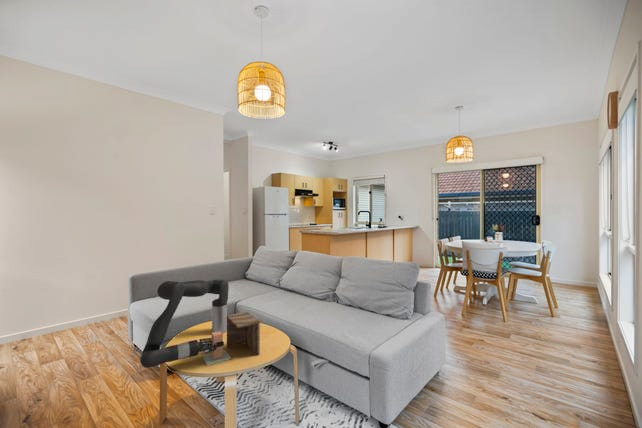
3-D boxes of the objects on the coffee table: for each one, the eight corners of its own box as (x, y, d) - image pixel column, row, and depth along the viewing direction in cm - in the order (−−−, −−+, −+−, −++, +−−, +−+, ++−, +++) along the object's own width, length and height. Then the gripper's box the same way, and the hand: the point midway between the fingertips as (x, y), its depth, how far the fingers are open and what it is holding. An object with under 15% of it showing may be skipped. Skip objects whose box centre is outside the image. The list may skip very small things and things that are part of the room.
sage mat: (202, 356, 154) (202, 355, 154) (225, 350, 161) (225, 349, 161) (207, 365, 145) (207, 364, 145) (231, 358, 152) (231, 357, 152)
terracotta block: (211, 355, 153) (211, 332, 153) (220, 353, 156) (220, 331, 156) (213, 359, 149) (213, 335, 150) (222, 356, 152) (222, 333, 152)
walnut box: (226, 347, 165) (226, 315, 166) (247, 342, 172) (247, 311, 172) (237, 361, 150) (237, 326, 150) (259, 354, 156) (259, 321, 157)
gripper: (190, 347, 139) (226, 339, 148) (184, 337, 151) (218, 330, 160) (190, 363, 139) (226, 353, 148) (184, 351, 151) (218, 343, 160)
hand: (222, 341), depth 154 cm, fingers open, 4 cm apart
